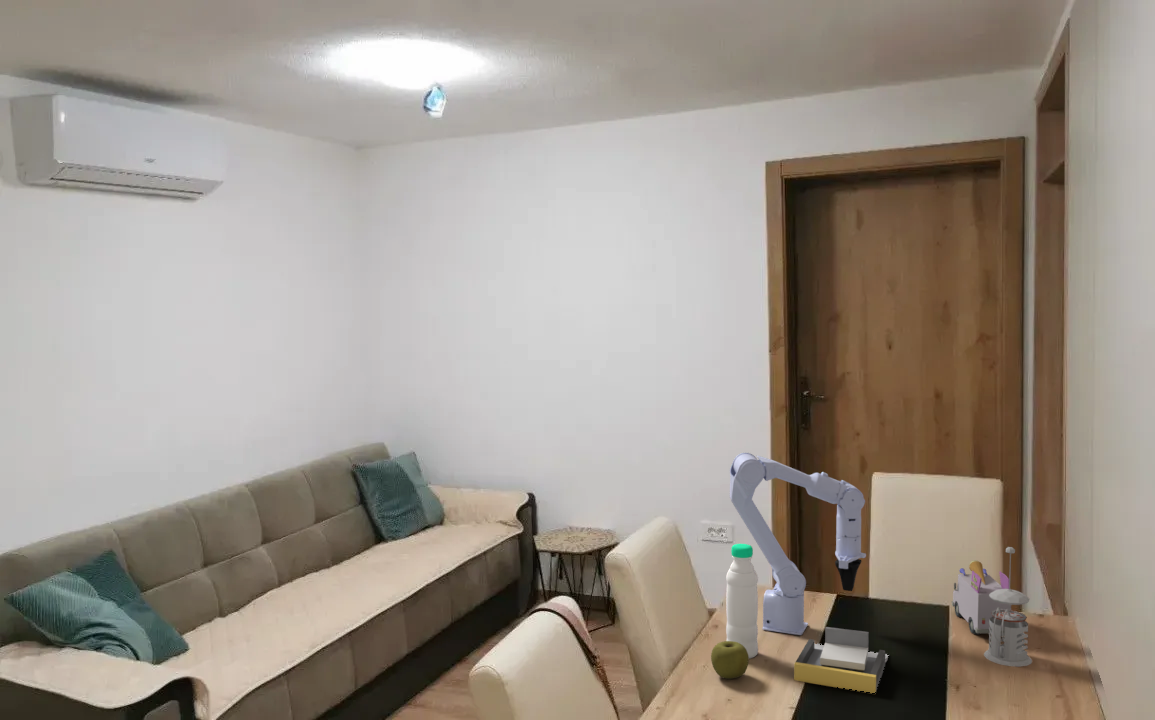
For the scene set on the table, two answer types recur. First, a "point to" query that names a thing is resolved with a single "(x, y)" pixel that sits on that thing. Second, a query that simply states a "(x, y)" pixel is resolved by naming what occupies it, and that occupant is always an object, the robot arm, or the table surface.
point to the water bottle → (742, 599)
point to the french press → (1008, 628)
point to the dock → (838, 670)
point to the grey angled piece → (845, 649)
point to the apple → (729, 659)
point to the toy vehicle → (977, 597)
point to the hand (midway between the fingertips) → (848, 589)
